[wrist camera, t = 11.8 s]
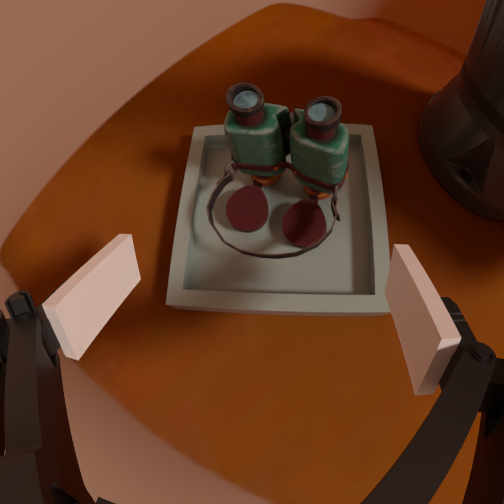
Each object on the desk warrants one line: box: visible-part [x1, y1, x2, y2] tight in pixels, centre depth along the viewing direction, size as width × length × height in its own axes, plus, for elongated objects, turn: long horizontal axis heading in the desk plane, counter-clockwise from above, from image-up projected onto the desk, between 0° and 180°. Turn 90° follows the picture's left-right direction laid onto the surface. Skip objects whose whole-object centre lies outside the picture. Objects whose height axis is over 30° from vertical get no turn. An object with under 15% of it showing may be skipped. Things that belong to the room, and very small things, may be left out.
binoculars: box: [206, 83, 349, 259], centre depth 20 cm, size 9×11×10 cm
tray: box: [166, 123, 391, 316], centre depth 25 cm, size 16×16×2 cm
